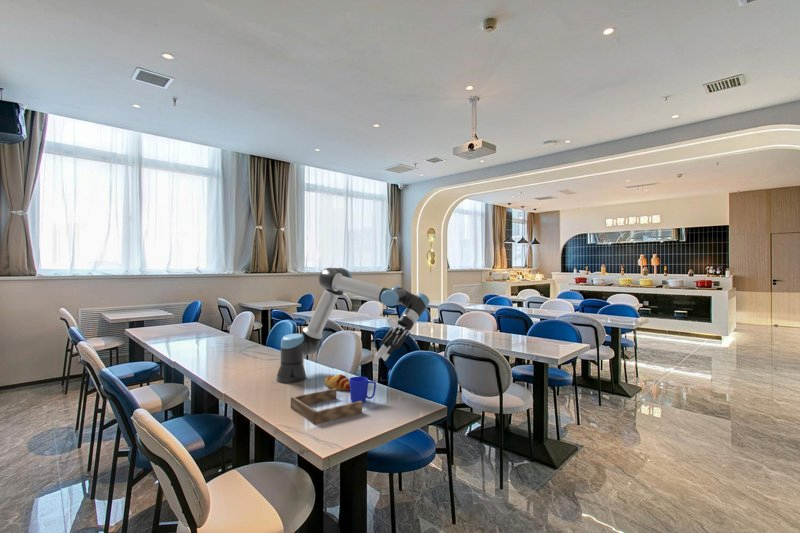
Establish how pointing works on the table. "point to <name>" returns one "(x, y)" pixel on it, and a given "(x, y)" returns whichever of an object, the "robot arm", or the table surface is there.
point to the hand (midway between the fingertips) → (380, 358)
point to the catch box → (325, 415)
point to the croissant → (338, 382)
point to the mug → (360, 389)
